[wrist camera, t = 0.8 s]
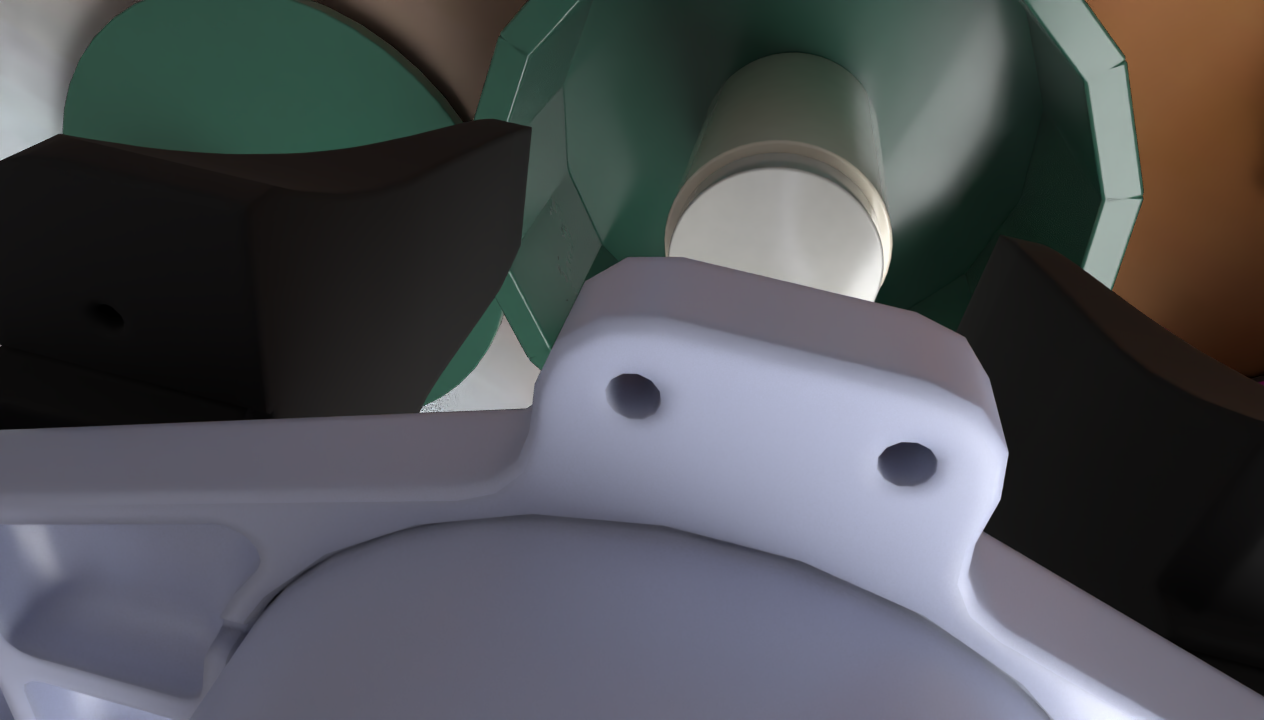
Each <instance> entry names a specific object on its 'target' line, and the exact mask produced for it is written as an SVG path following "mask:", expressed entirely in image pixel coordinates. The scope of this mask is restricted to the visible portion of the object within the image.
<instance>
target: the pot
mask: <svg viewBox="0 0 1264 720" xmlns="http://www.w3.org/2000/svg"><path fill="white" fill-rule="evenodd" d="M780 53H806V54H812V55H816V56H820V57H823V58H825V59H828V60H830V61H833V62H834V63H836V64H838V65H840V66H841V67H843V68H844V69H846V70H847V71H848V72H849V73H851V74H852V75H853V76H854V77H855V78H856V79H857V80H858V81H859V82H860V83H861V85H862V86H863V87H864V89H865V90H866V92H867V93H868V95H869V97H870V99H871V101H872V103H873V106H874V109H875V112H876V115H877V120H878V126H879V133H880V141H881V149H882V156H883V164H884V172H885V179H886V187H887V195H888V202H889V210H890V218H891V225H892V238H893V248H892V258H891V262H890V266H889V270H888V273H887V275H886V278H885V280H884V282H883V284H882V286H881V288H880V290H879V292H878V295H877V297H876V299H875V303H879V304H884V305H888V306H892V307H896V308H901V309H905V310H909V311H913V312H917V313H919V314H921V315H923V316H925V317H927V318H929V319H931V320H932V321H934V322H936V323H938V324H940V325H942V326H944V327H946V328H948V329H950V330H952V331H954V332H956V331H957V329H958V326H959V324H960V322H961V320H962V318H963V315H964V313H965V311H966V309H967V307H968V304H969V302H970V300H971V298H972V296H973V293H974V291H975V289H976V287H977V285H978V282H979V280H980V278H981V276H982V274H983V271H984V269H985V267H986V265H987V263H988V260H989V258H990V256H991V254H992V252H993V249H994V247H995V245H996V243H997V241H998V238H999V236H1000V235H1004V236H1008V237H1013V238H1017V239H1022V240H1026V241H1030V242H1035V243H1039V244H1043V245H1045V246H1047V247H1050V248H1052V249H1053V250H1055V251H1057V252H1059V253H1060V254H1062V255H1063V256H1065V257H1066V258H1068V259H1069V260H1071V261H1072V262H1074V263H1075V264H1077V265H1078V266H1079V267H1081V268H1082V269H1083V270H1085V271H1086V272H1088V273H1089V274H1090V275H1092V276H1093V277H1094V278H1096V279H1097V280H1098V281H1100V282H1101V283H1102V284H1104V285H1105V286H1106V287H1108V288H1109V289H1110V290H1112V289H1113V286H1114V283H1115V280H1116V277H1117V275H1118V272H1119V269H1120V266H1121V263H1122V260H1123V257H1124V254H1125V251H1126V248H1127V245H1128V242H1129V240H1130V237H1131V234H1132V231H1133V228H1134V225H1135V222H1136V219H1137V216H1138V213H1139V210H1140V207H1141V205H1142V202H1143V196H1142V195H1143V193H1144V188H1143V180H1142V173H1141V165H1140V157H1139V150H1138V142H1137V134H1136V126H1135V119H1134V111H1133V103H1132V96H1131V88H1130V80H1129V73H1128V65H1127V62H1126V60H1125V59H1126V58H1125V55H1124V54H1123V52H1122V51H1121V50H1120V48H1119V47H1118V45H1117V44H1116V43H1115V41H1114V40H1113V38H1112V37H1111V36H1110V34H1109V33H1108V31H1107V30H1106V29H1105V27H1104V26H1103V25H1102V23H1101V22H1100V20H1099V19H1098V18H1097V16H1096V15H1095V13H1094V12H1093V11H1092V9H1091V8H1090V6H1089V5H1088V4H1087V2H1086V1H1085V0H528V1H527V2H526V3H525V4H524V5H523V7H522V8H521V9H520V10H519V11H518V12H517V13H516V15H515V16H514V17H513V18H512V19H511V20H510V22H509V23H508V24H507V25H506V26H505V27H504V29H503V30H502V31H501V33H500V35H499V37H498V39H497V42H496V46H495V49H494V52H493V56H492V59H491V63H490V66H489V69H488V73H487V76H486V80H485V83H484V86H483V90H482V93H481V96H480V100H479V103H478V107H477V110H476V113H475V117H474V120H479V119H498V120H502V121H507V122H511V123H515V124H520V125H524V126H529V127H532V134H531V145H530V155H529V165H528V176H527V186H526V196H525V207H524V217H523V227H522V238H521V246H520V248H519V250H518V253H517V255H516V257H515V259H514V261H513V264H512V266H511V268H510V270H509V272H508V274H507V276H506V278H505V281H504V283H503V285H502V287H501V289H500V290H499V292H498V293H497V295H496V296H495V298H496V300H497V302H498V304H499V306H500V307H501V309H502V311H503V313H504V315H505V317H506V319H507V320H508V322H509V324H510V326H511V328H512V330H513V331H514V333H515V335H516V337H517V339H518V341H519V342H520V344H521V346H522V348H523V350H524V352H525V353H526V355H527V357H528V358H529V360H530V361H531V362H532V363H533V364H534V365H535V366H537V367H538V368H539V369H540V370H542V368H543V366H544V364H545V362H546V360H547V358H548V356H549V354H550V352H551V350H552V348H553V346H554V344H555V341H556V339H557V337H558V335H559V333H560V331H561V329H562V327H563V325H564V323H565V321H566V319H567V317H568V315H569V313H570V311H571V309H572V307H573V305H574V303H575V301H576V299H577V297H578V295H579V293H580V291H581V289H582V287H583V285H584V282H585V281H587V280H588V279H590V278H592V277H594V276H595V275H597V274H599V273H601V272H602V271H604V270H606V269H608V268H609V267H611V266H613V265H615V264H616V263H618V262H620V261H622V260H623V259H625V258H627V257H666V256H665V245H664V237H665V227H666V222H667V218H668V214H669V211H670V209H671V206H672V203H673V201H674V198H675V195H676V193H677V190H678V187H679V185H680V182H681V179H682V177H683V174H684V171H685V169H686V166H687V163H688V161H689V158H690V155H691V153H692V150H693V147H694V145H695V142H696V139H697V137H698V134H699V131H700V129H701V126H702V123H703V121H704V118H705V115H706V113H707V110H708V108H709V105H710V103H711V101H712V99H713V98H714V96H715V94H716V93H717V92H718V90H719V89H720V87H721V86H722V85H723V84H724V83H725V82H726V81H727V80H728V79H729V78H730V77H731V76H732V75H733V74H734V73H736V72H737V71H738V70H739V69H741V68H743V67H744V66H746V65H748V64H749V63H751V62H753V61H756V60H758V59H760V58H763V57H767V56H770V55H774V54H780ZM474 120H473V121H474Z"/></svg>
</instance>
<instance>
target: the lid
mask: <svg viewBox="0 0 1264 720" xmlns="http://www.w3.org/2000/svg"><path fill="white" fill-rule="evenodd" d="M460 123H463V122H462V120H461V119H460V117H459V116H458V115H457V113H456V112H455V111H454V109H453V108H452V107H451V105H450V104H449V103H448V101H447V100H446V99H445V97H444V96H443V95H442V94H441V93H440V92H439V91H438V90H437V89H436V87H435V86H434V85H433V84H432V83H431V82H430V81H429V80H428V79H427V78H426V77H425V76H424V74H423V73H422V72H421V71H420V70H419V69H418V68H416V67H415V66H414V65H413V64H412V63H411V62H410V61H408V60H407V59H406V58H405V57H404V56H403V55H402V54H400V53H399V52H398V51H397V50H396V49H395V48H394V47H392V46H391V45H390V44H388V43H387V42H385V41H384V40H382V39H381V38H380V37H378V36H377V35H375V34H374V33H372V32H371V31H370V30H368V29H367V28H365V27H364V26H362V25H361V24H359V23H357V22H355V21H353V20H352V19H350V18H348V17H346V16H344V15H342V14H340V13H339V12H337V11H335V10H333V9H331V8H329V7H327V6H324V5H322V4H319V3H317V2H314V1H312V0H142V1H140V2H137V3H135V4H133V5H132V6H130V7H129V8H127V9H126V10H124V11H123V12H121V13H120V14H119V15H117V16H116V17H114V18H113V19H112V20H111V21H110V22H109V23H108V24H107V25H106V26H105V27H104V28H103V29H102V30H101V31H100V32H99V33H98V34H97V35H96V36H95V37H94V38H93V40H92V41H91V43H90V44H89V46H88V47H87V49H86V50H85V52H84V53H83V55H82V56H81V58H80V60H79V62H78V64H77V67H76V69H75V72H74V74H73V77H72V79H71V81H70V84H69V89H68V93H67V98H66V102H65V107H64V118H63V134H65V135H70V136H76V137H81V138H88V139H94V140H101V141H108V142H114V143H121V144H127V145H134V146H141V147H148V148H157V149H166V150H177V151H189V152H202V153H221V154H281V153H306V152H316V151H326V150H336V149H343V148H351V147H357V146H363V145H368V144H373V143H378V142H383V141H387V140H392V139H397V138H402V137H407V136H411V135H416V134H420V133H424V132H428V131H432V130H436V129H440V128H444V127H448V126H452V125H456V124H460ZM503 315H504V313H503V311H502V309H501V307H500V306H499V304H498V302H497V300H496V298H494V299H493V301H492V302H491V304H490V305H489V307H488V308H487V310H486V311H485V313H484V314H483V315H482V317H481V318H480V320H479V321H478V323H477V324H476V326H475V327H474V328H473V330H472V331H471V333H470V334H469V336H468V337H467V338H466V340H465V341H464V343H463V344H462V346H461V347H460V348H459V350H458V351H457V353H456V354H455V356H454V357H453V358H452V360H451V361H450V363H449V364H448V366H447V367H446V368H445V370H444V371H443V373H442V374H441V376H440V377H439V379H438V380H437V382H436V384H435V385H434V387H433V388H432V390H431V392H430V393H429V395H428V397H427V398H426V400H425V402H424V404H423V406H424V405H426V404H428V403H430V402H432V401H434V400H436V399H438V398H440V397H442V396H444V395H445V394H446V393H448V392H449V391H450V390H452V389H453V388H455V387H456V386H457V385H459V384H460V383H461V382H462V381H463V380H464V379H465V378H466V377H467V376H468V375H469V374H470V373H471V372H472V371H473V370H474V369H475V367H476V366H477V364H478V363H479V362H480V360H481V359H482V357H483V356H484V354H485V353H486V352H487V350H488V348H489V347H490V345H491V343H492V341H493V339H494V337H495V335H496V333H497V331H498V329H499V326H500V324H501V322H502V319H503Z"/></svg>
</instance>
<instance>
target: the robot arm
mask: <svg viewBox="0 0 1264 720" xmlns="http://www.w3.org/2000/svg"><path fill="white" fill-rule="evenodd" d="M531 134H532V127H529V126H524V125H520V124H515V123H511V122H507V121H502V120H498V119H479V120H474V121H469V122H464V123H460V124H456V125H452V126H448V127H444V128H440V129H436V130H432V131H428V132H424V133H420V134H416V135H411V136H407V137H402V138H397V139H392V140H387V141H383V142H378V143H373V144H368V145H363V146H357V147H351V148H343V149H336V150H326V151H316V152H306V153H281V154H221V153H202V152H189V151H177V150H166V149H157V148H148V147H141V146H134V145H127V144H121V143H114V142H108V141H101V140H94V139H88V138H81V137H76V136H70V135H65V134H58V135H55V136H53V137H51V138H49V139H47V140H45V141H42V142H40V143H38V144H36V145H34V146H32V147H29V148H27V149H25V150H23V151H21V152H19V153H16V154H14V155H12V156H10V157H8V158H5V159H3V160H1V161H0V345H2V346H1V347H0V720H1264V385H1262V384H1260V383H1258V382H1256V381H1254V380H1252V379H1250V378H1248V377H1246V376H1244V375H1242V374H1241V373H1239V372H1237V371H1235V370H1233V369H1232V368H1230V367H1228V366H1226V365H1224V364H1223V363H1221V362H1219V361H1217V360H1215V359H1214V358H1212V357H1210V356H1208V355H1206V354H1205V353H1203V352H1201V351H1200V350H1198V349H1196V348H1195V347H1193V346H1191V345H1190V344H1188V343H1187V342H1185V341H1183V340H1182V339H1180V338H1179V337H1177V336H1176V335H1174V334H1173V333H1171V332H1170V331H1168V330H1167V329H1165V328H1164V327H1162V326H1161V325H1159V324H1158V323H1156V322H1155V321H1153V320H1152V319H1150V318H1149V317H1148V316H1146V315H1145V314H1143V313H1142V312H1141V311H1139V310H1138V309H1136V308H1135V307H1134V306H1132V305H1131V304H1129V303H1128V302H1127V301H1125V300H1124V299H1123V298H1121V297H1120V296H1118V295H1117V294H1116V293H1114V292H1113V291H1112V290H1110V289H1109V288H1108V287H1106V286H1105V285H1104V284H1102V283H1101V282H1100V281H1098V280H1097V279H1096V278H1094V277H1093V276H1092V275H1090V274H1089V273H1088V272H1086V271H1085V270H1083V269H1082V268H1081V267H1079V266H1078V265H1077V264H1075V263H1074V262H1072V261H1071V260H1069V259H1068V258H1066V257H1065V256H1063V255H1062V254H1060V253H1059V252H1057V251H1055V250H1053V249H1052V248H1050V247H1047V246H1045V245H1043V244H1039V243H1035V242H1030V241H1026V240H1022V239H1017V238H1013V237H1008V236H1004V235H1000V236H999V238H998V241H997V243H996V245H995V247H994V249H993V252H992V254H991V256H990V258H989V260H988V263H987V265H986V267H985V269H984V271H983V274H982V276H981V278H980V280H979V282H978V285H977V287H976V289H975V291H974V293H973V296H972V298H971V300H970V302H969V304H968V307H967V309H966V311H965V313H964V315H963V318H962V320H961V322H960V324H959V326H958V329H957V331H956V332H954V331H952V330H950V329H948V328H946V327H944V326H942V325H940V324H938V323H936V322H934V321H932V320H931V319H929V318H927V317H925V316H923V315H921V314H919V313H917V312H913V311H909V310H905V309H901V308H896V307H892V306H888V305H884V304H879V303H875V302H871V301H867V300H863V299H858V298H854V297H850V296H846V295H841V294H837V293H833V292H829V291H824V290H820V289H816V288H812V287H808V286H803V285H799V284H795V283H791V282H786V281H782V280H778V279H774V278H770V277H765V276H761V275H757V274H753V273H748V272H744V271H740V270H736V269H731V268H727V267H723V266H719V265H715V264H710V263H706V262H702V261H698V260H693V259H689V258H685V257H627V258H625V259H623V260H622V261H620V262H618V263H616V264H615V265H613V266H611V267H609V268H608V269H606V270H604V271H602V272H601V273H599V274H597V275H595V276H594V277H592V278H590V279H588V280H587V281H585V282H584V285H583V287H582V289H581V291H580V293H579V295H578V297H577V299H576V301H575V303H574V305H573V307H572V309H571V311H570V313H569V315H568V317H567V319H566V321H565V323H564V325H563V327H562V329H561V331H560V333H559V335H558V337H557V339H556V341H555V344H554V346H553V348H552V350H551V352H550V354H549V356H548V358H547V360H546V362H545V364H544V366H543V368H542V370H541V372H540V374H539V376H538V378H537V380H536V383H535V388H534V396H533V404H532V406H530V407H528V408H526V409H505V410H480V411H456V412H431V413H419V412H420V410H421V408H422V406H423V404H424V402H425V400H426V398H427V397H428V395H429V393H430V392H431V390H432V388H433V387H434V385H435V384H436V382H437V380H438V379H439V377H440V376H441V374H442V373H443V371H444V370H445V368H446V367H447V366H448V364H449V363H450V361H451V360H452V358H453V357H454V356H455V354H456V353H457V351H458V350H459V348H460V347H461V346H462V344H463V343H464V341H465V340H466V338H467V337H468V336H469V334H470V333H471V331H472V330H473V328H474V327H475V326H476V324H477V323H478V321H479V320H480V318H481V317H482V315H483V314H484V313H485V311H486V310H487V308H488V307H489V305H490V304H491V302H492V301H493V299H494V298H495V296H496V295H497V293H498V292H499V290H500V289H501V287H502V285H503V283H504V281H505V278H506V276H507V274H508V272H509V270H510V268H511V266H512V264H513V261H514V259H515V257H516V255H517V253H518V250H519V248H520V246H521V238H522V227H523V217H524V207H525V196H526V186H527V176H528V165H529V155H530V145H531Z"/></svg>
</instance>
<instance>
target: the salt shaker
mask: <svg viewBox="0 0 1264 720" xmlns="http://www.w3.org/2000/svg"><path fill="white" fill-rule="evenodd" d="M664 245H665V256H666V257H685V258H689V259H693V260H698V261H702V262H706V263H710V264H715V265H719V266H723V267H727V268H731V269H736V270H740V271H744V272H748V273H753V274H757V275H761V276H765V277H770V278H774V279H778V280H782V281H786V282H791V283H795V284H799V285H803V286H808V287H812V288H816V289H820V290H824V291H829V292H833V293H837V294H841V295H846V296H850V297H854V298H858V299H863V300H867V301H871V302H875V299H876V297H877V295H878V292H879V290H880V288H881V286H882V284H883V282H884V280H885V278H886V275H887V273H888V270H889V266H890V262H891V258H892V248H893V238H892V225H891V218H890V210H889V202H888V195H887V187H886V179H885V172H884V164H883V156H882V149H881V141H880V133H879V126H878V120H877V115H876V112H875V109H874V106H873V103H872V101H871V99H870V97H869V95H868V93H867V92H866V90H865V89H864V87H863V86H862V85H861V83H860V82H859V81H858V80H857V79H856V78H855V77H854V76H853V75H852V74H851V73H849V72H848V71H847V70H846V69H844V68H843V67H841V66H840V65H838V64H836V63H834V62H833V61H830V60H828V59H825V58H823V57H820V56H816V55H812V54H806V53H780V54H774V55H770V56H767V57H763V58H760V59H758V60H756V61H753V62H751V63H749V64H748V65H746V66H744V67H743V68H741V69H739V70H738V71H737V72H736V73H734V74H733V75H732V76H731V77H730V78H729V79H728V80H727V81H726V82H725V83H724V84H723V85H722V86H721V87H720V89H719V90H718V92H717V93H716V94H715V96H714V98H713V99H712V101H711V103H710V105H709V108H708V110H707V113H706V115H705V118H704V121H703V123H702V126H701V129H700V131H699V134H698V137H697V139H696V142H695V145H694V147H693V150H692V153H691V155H690V158H689V161H688V163H687V166H686V169H685V171H684V174H683V177H682V179H681V182H680V185H679V187H678V190H677V193H676V195H675V198H674V201H673V203H672V206H671V209H670V211H669V214H668V218H667V222H666V227H665V237H664Z"/></svg>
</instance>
